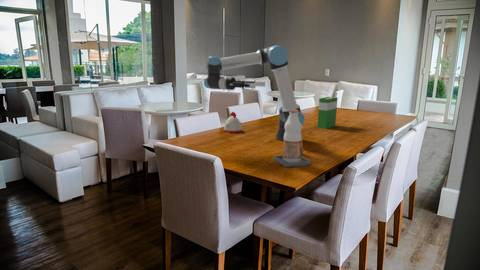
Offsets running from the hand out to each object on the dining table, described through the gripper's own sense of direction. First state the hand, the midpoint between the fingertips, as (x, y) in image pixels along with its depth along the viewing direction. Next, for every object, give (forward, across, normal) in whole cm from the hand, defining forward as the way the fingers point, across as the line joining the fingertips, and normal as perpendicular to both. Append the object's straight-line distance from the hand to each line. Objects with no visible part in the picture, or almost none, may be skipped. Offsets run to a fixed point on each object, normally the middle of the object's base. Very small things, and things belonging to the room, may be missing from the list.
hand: (260, 84), depth 188 cm
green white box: (+18, -97, -40) cm, 107 cm away
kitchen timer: (-42, -44, -40) cm, 73 cm away
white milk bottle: (+24, +9, -40) cm, 47 cm away
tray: (+24, +9, -40) cm, 47 cm away
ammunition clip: (+19, -9, -40) cm, 45 cm away
